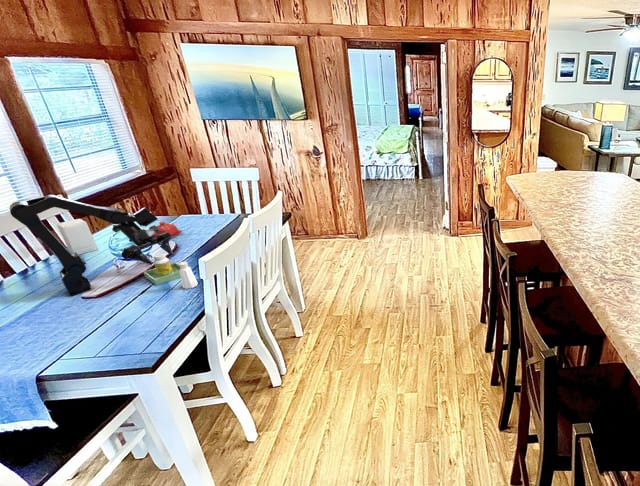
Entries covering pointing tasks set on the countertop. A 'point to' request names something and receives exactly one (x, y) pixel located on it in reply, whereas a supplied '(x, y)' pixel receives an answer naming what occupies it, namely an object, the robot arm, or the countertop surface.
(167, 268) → the supplement bottle
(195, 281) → the pepper shaker
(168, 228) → the butter dish
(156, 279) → the green tray
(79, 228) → the rectangular carton
